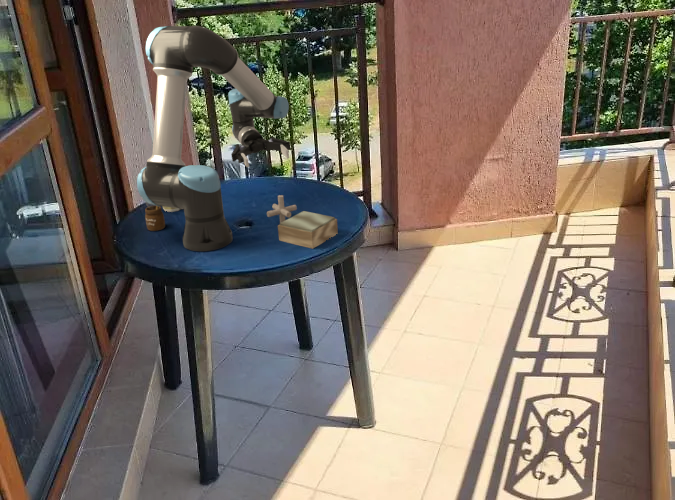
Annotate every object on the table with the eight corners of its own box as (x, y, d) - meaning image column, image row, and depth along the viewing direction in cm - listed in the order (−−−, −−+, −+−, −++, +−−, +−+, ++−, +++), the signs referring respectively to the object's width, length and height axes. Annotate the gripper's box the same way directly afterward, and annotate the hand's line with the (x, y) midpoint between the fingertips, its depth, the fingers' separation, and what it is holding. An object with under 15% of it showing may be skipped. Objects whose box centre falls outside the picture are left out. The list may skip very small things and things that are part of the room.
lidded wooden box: (312, 248, 190) (311, 231, 188) (279, 240, 197) (277, 223, 195) (337, 233, 200) (336, 217, 197) (304, 226, 207) (303, 210, 204)
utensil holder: (157, 223, 215) (151, 189, 211) (170, 226, 212) (164, 192, 207) (143, 229, 211) (137, 194, 206) (155, 232, 208) (149, 197, 203)
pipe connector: (276, 233, 202) (273, 203, 198) (262, 224, 210) (259, 195, 206) (303, 226, 207) (301, 196, 203) (289, 217, 215) (287, 188, 211)
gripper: (286, 142, 230) (305, 161, 213) (218, 157, 223) (232, 177, 206) (283, 122, 227) (302, 139, 209) (214, 136, 220) (228, 155, 202)
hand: (267, 158), depth 207 cm, fingers open, 13 cm apart
